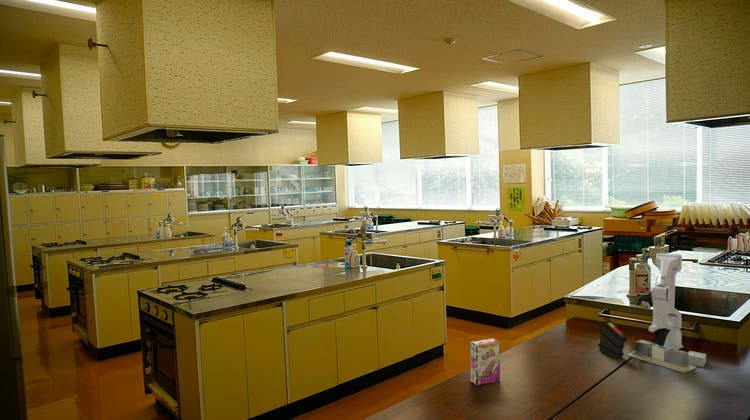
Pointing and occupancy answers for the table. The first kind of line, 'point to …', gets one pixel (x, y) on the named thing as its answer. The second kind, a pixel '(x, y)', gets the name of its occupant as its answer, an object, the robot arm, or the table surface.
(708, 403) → the table surface
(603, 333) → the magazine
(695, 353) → the block
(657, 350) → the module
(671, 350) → the rail panel
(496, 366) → the candy bar box
